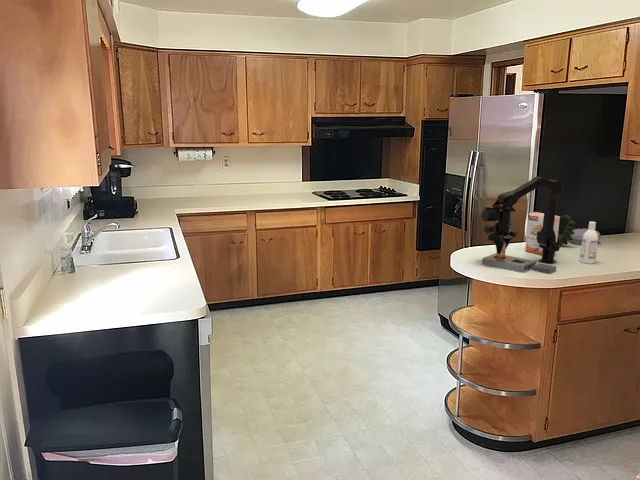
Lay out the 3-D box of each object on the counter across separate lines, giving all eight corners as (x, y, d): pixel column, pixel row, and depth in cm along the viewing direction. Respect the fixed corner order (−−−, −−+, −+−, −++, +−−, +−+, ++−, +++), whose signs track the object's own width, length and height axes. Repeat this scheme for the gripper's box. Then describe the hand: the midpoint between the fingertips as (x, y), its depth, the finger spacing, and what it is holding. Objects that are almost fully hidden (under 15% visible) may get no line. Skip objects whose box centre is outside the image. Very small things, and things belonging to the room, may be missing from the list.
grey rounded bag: (576, 238, 313) (562, 242, 299) (578, 224, 311) (564, 228, 297) (603, 242, 302) (590, 247, 288) (605, 228, 300) (592, 233, 287)
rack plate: (495, 259, 258) (495, 252, 257) (535, 267, 245) (536, 260, 244) (481, 264, 248) (482, 257, 247) (523, 272, 235) (524, 266, 234)
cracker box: (524, 251, 275) (528, 212, 271) (531, 250, 279) (535, 211, 274) (548, 257, 264) (553, 216, 260) (555, 255, 267) (560, 215, 263)
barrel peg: (498, 256, 251) (499, 242, 250) (506, 257, 249) (507, 243, 247) (494, 257, 248) (495, 243, 247) (502, 259, 246) (503, 244, 244)
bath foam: (596, 262, 256) (602, 222, 252) (592, 264, 251) (598, 224, 247) (581, 259, 261) (587, 220, 256) (577, 262, 256) (582, 222, 252)
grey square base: (538, 267, 245) (539, 263, 244) (556, 270, 239) (556, 266, 239) (531, 270, 239) (532, 266, 239) (549, 274, 234) (550, 269, 233)
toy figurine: (573, 250, 289) (535, 237, 309) (581, 216, 283) (541, 206, 303) (563, 251, 284) (525, 238, 304) (570, 218, 278) (531, 207, 298)
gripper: (496, 216, 257) (493, 247, 260) (478, 220, 243) (475, 253, 247) (518, 219, 249) (515, 251, 253) (501, 224, 236) (498, 257, 239)
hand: (500, 253), depth 248 cm, fingers closed on barrel peg, 4 cm apart
